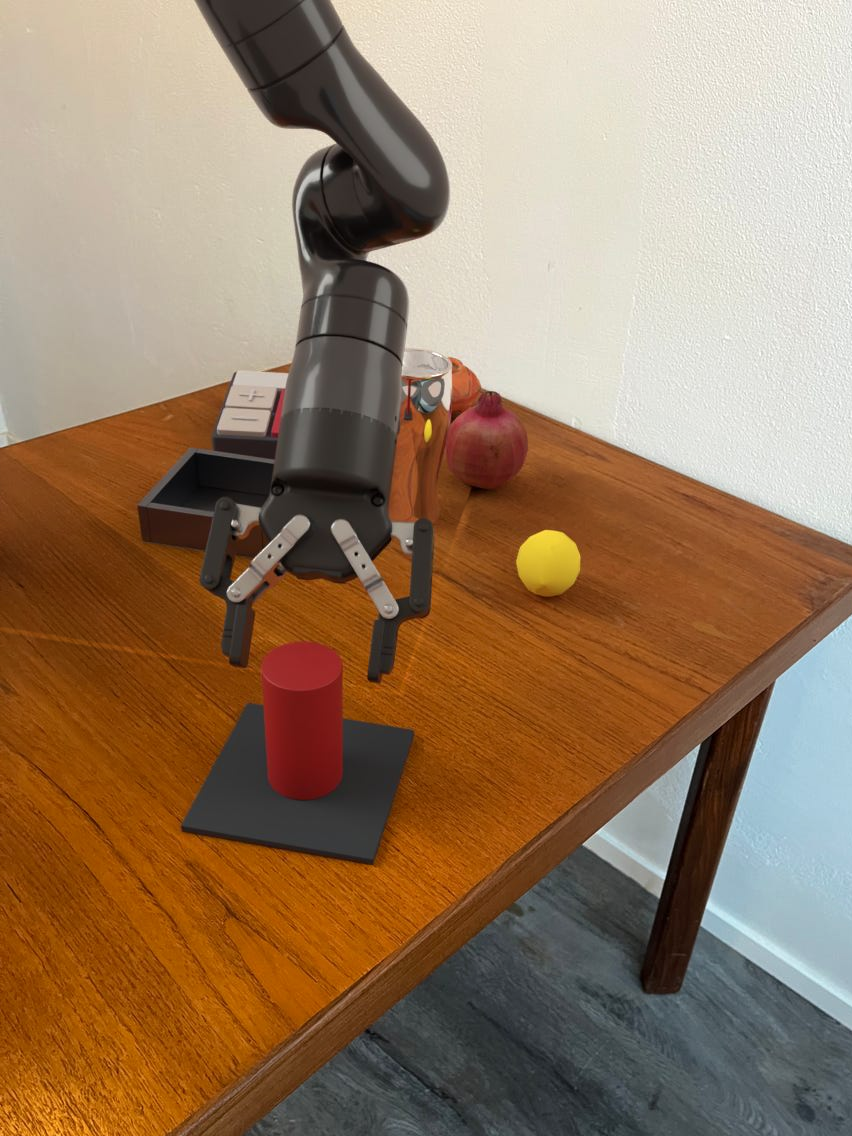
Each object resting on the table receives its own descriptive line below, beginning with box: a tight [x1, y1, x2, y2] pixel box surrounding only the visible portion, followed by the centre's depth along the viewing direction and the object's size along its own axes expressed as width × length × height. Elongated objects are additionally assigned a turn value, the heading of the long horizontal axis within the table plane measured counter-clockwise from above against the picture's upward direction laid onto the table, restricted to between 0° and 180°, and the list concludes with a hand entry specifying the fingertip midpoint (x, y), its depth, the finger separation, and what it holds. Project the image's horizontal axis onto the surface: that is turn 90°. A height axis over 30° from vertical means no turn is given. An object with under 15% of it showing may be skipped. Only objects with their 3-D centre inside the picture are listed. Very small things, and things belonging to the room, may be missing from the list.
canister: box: [260, 641, 344, 800], centre depth 63 cm, size 5×5×9 cm
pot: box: [447, 356, 482, 414], centre depth 113 cm, size 8×8×7 cm
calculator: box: [211, 370, 289, 460], centre depth 105 cm, size 11×4×15 cm
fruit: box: [445, 390, 529, 490], centre depth 98 cm, size 8×8×10 cm
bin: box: [136, 447, 275, 560], centre depth 90 cm, size 12×12×4 cm
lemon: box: [515, 529, 581, 597], centre depth 85 cm, size 7×5×5 cm
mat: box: [180, 702, 415, 865], centre depth 66 cm, size 12×12×1 cm
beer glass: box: [388, 347, 452, 524], centre depth 90 cm, size 7×7×15 cm
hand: (306, 674), depth 62 cm, fingers open, 8 cm apart
